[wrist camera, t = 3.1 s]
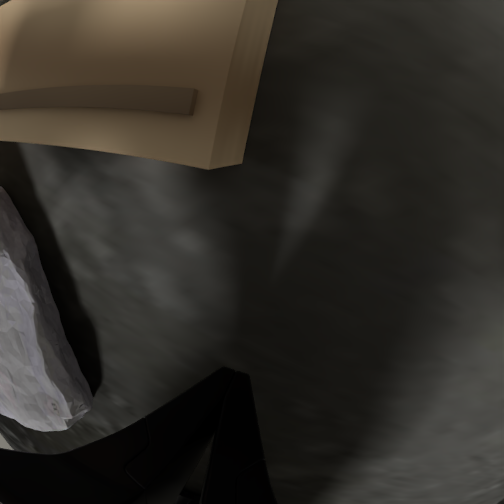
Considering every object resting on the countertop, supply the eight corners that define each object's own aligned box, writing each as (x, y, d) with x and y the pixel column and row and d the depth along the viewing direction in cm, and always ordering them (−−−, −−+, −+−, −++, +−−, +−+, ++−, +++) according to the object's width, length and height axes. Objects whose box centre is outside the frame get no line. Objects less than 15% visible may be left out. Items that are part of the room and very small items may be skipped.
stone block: (37, 158, 12) (-48, 242, 13) (-35, 165, 7) (-99, 264, 8) (146, 373, 15) (37, 397, 16) (115, 439, 10) (4, 441, 11)
